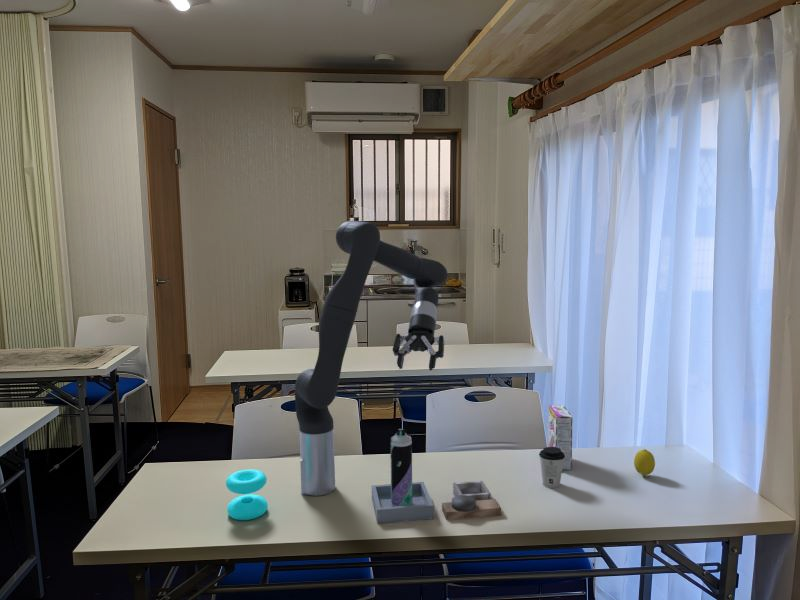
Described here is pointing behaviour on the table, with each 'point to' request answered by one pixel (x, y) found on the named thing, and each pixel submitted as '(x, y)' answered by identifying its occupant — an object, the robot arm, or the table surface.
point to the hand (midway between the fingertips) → (415, 368)
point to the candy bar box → (561, 432)
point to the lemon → (644, 462)
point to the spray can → (401, 469)
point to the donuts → (249, 503)
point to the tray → (417, 511)
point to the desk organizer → (470, 502)
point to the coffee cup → (551, 466)
